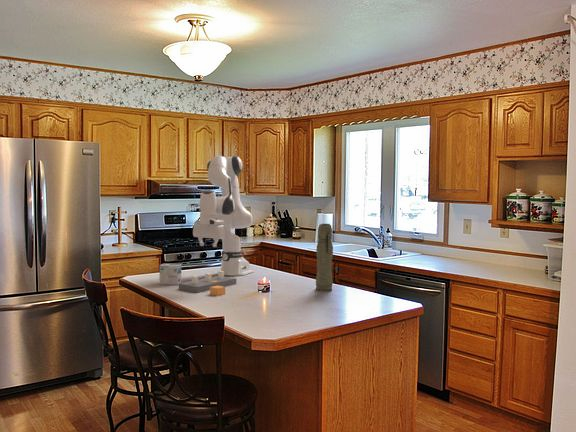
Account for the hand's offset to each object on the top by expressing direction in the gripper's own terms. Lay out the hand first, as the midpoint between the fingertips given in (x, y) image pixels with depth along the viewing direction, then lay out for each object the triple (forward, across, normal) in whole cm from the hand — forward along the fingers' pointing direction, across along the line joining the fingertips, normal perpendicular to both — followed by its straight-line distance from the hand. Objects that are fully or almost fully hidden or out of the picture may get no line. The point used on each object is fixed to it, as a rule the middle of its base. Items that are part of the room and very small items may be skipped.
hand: (208, 246), depth 282 cm
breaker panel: (+22, 0, 0) cm, 22 cm away
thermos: (+22, +53, +34) cm, 66 cm away
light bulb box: (+22, -22, -7) cm, 32 cm away
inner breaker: (+19, 0, +10) cm, 22 cm away
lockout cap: (+22, +17, -11) cm, 30 cm away
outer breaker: (+19, 0, -10) cm, 21 cm away
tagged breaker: (+19, 0, 0) cm, 19 cm away
